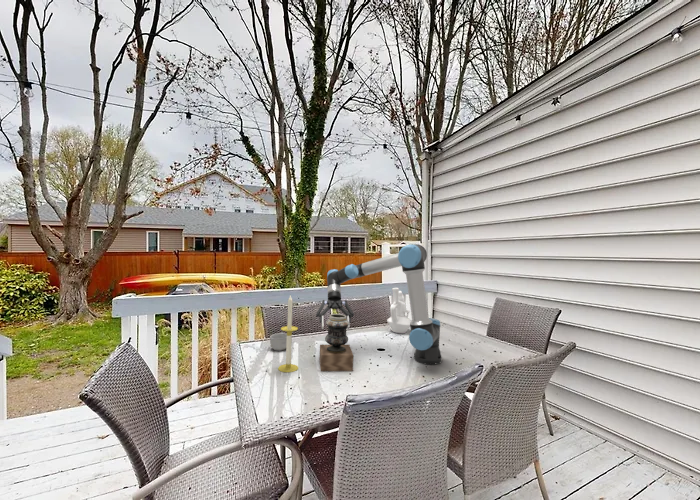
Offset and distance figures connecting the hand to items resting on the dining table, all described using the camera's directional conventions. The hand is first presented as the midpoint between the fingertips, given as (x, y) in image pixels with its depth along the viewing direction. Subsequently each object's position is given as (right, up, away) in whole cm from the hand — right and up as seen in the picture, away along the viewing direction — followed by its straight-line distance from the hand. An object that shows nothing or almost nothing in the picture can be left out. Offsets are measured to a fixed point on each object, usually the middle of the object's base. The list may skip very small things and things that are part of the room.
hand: (335, 327), depth 182 cm
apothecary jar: (0, -11, -2) cm, 11 cm away
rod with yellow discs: (-23, -19, -9) cm, 31 cm away
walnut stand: (0, -19, -1) cm, 19 cm away
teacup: (-33, -17, +20) cm, 42 cm away
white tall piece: (+41, -17, +62) cm, 76 cm away
